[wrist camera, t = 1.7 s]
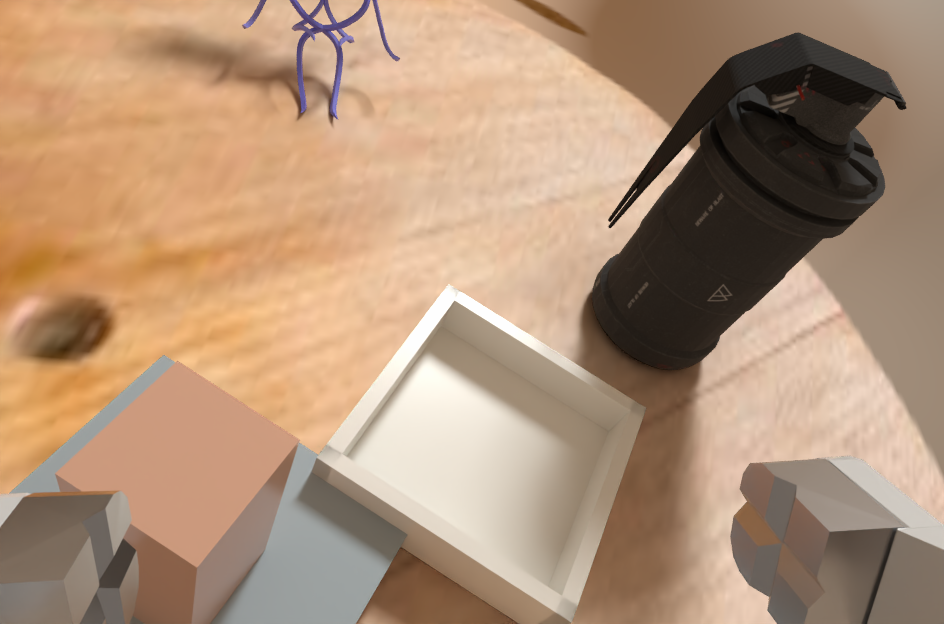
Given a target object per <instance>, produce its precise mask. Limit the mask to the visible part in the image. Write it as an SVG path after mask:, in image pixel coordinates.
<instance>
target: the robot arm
mask: <svg viewBox="0 0 944 624" xmlns="http://www.w3.org/2000/svg"><path fill="white" fill-rule="evenodd" d="M740 490H741V492H742V494H743V496H744V497H745V499H746V501H747V502H746V503H745V504H744V506H743V507H742V508H741V509H740V510H739V511H738V512H737V513H736V514H735V515H734V518H733V524H732V530H731V536H730V537H731V544H732V551H733V557H734V559H735V562H736V564H737V567H738V569H739V571H740V573H741V574H742V576H743V577H744V578H745V580H746V581H747V583H748V584H749V585H750V586H751V587H753V588H755V589H757V590H758V591H760V592H762V593H763V594H765V595H767V596H768V597H769V601H768V612H769V613H770V614H771V616H772V617H773V619H774V620H775V621H776V623H777V624H944V525H943V524H942V523H941V522H939V521H938V520H937V519H936V518H934V517H933V516H932V515H931V514H929V513H928V512H927V511H926V510H924V509H923V508H922V507H921V506H919V505H918V504H917V503H916V502H914V501H913V500H912V499H911V498H909V497H908V496H907V495H906V494H904V493H903V492H902V491H901V490H899V489H898V488H897V487H896V486H894V485H893V484H892V483H891V482H889V481H888V480H887V479H886V478H884V477H883V476H882V475H881V474H880V473H878V472H877V471H876V470H875V469H873V468H872V467H871V466H870V465H868V464H867V463H866V462H865V461H863V460H862V459H859V458H856V457H852V456H841V457H828V458H817V459H811V460H795V461H779V462H763V463H750V464H749V466H748V467H747V469H746V470H745V472H744V473H743V477H742V481H741V486H740ZM131 521H132V518H131V513H130V508H129V503H128V498H127V496H126V495H125V494H124V493H123V492H122V491H121V490H120V491H81V492H41V493H32V494H30V493H11V494H0V624H129V623H130V621H131V618H132V616H133V613H134V609H135V604H136V599H137V593H138V588H139V565H138V558H137V551H136V550H135V549H134V548H133V547H132V546H131V545H130V544H129V543H128V542H127V541H126V540H125V539H123V537H124V535H125V533H126V531H127V529H128V527H129V525H130V523H131Z"/></svg>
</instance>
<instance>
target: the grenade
mask: <svg viewBox="0 0 944 624" xmlns="http://www.w3.org/2000/svg"><path fill="white" fill-rule="evenodd" d="M884 96H885V97H887V98H890V99H892V100H894V101H895V103H896V105H897V107H898V108H899V109H900V110H903V109H906V106H905V104H906V102H905V101H904V99H903V97H902V95H901V94H900V92H899V90H898V88H897V87H896V85H895V83H894V82H893V80H892V78H891V76H890V75H889V73H888V72H887V71H886V72H885V71H884V70H881V69H879V68H877V67H875V66H872V65H871V64H870V63H869V62H866V61H864V60H862V59H859V58H857V57H855V56H852V55H850V54H848V53H845V52H843V51H841V50H838V49H836V48H834V47H831V46H829V45H827V44H824V43H822V42H820V41H817V40H815V39H813V38H810V37H808V36H806V35H803V34H801V33H794V34H791V35H789V36H786V37H784V38H780V39H778V40H775V41H772V42H769V43H767V44H764V45H761V46H758V47H756V48H753V49H750V50H747V51H744V52H742V53H739V54H737V55H735V56H732V57H731V58H729V59H728V60H727V61H726V62H725V63H724V64H723V66H722V67H721V68H720V69H719V70H718V71H717V72H716V73H715V75H714V76H713V77H712V78H711V79H710V80H709V81H708V82H707V84H706V85H705V86H704V87H703V88H702V89H701V90H700V92H699V93H698V94H697V95H696V97H695V98H694V99H693V100H692V102H691V103H690V104H689V106H688V107H687V109H686V110H685V111H684V113H683V114H682V116H681V117H680V119H679V120H678V121H677V123H676V124H675V126H674V127H673V128H672V130H671V131H670V133H669V134H668V135H667V137H666V138H665V140H664V141H663V142H662V144H661V145H660V147H659V148H658V149H657V151H656V152H655V154H654V155H653V157H652V158H651V159H650V161H649V162H648V164H647V165H646V166H645V168H644V169H643V171H642V172H641V173H640V175H639V176H638V178H637V179H636V181H635V182H634V183H633V185H632V186H631V188H630V189H629V191H628V192H627V193H626V195H625V196H624V198H623V199H622V201H621V202H620V203H619V205H618V206H617V208H616V209H615V211H614V212H613V213H612V215H611V216H610V218H609V219H608V221H609V222H611V220H612V219H613V218H614V217H615V215H616V214H617V213H618V211H619V210H620V209H621V208H622V206H623V205H624V204H625V202H626V201H627V200H628V199H629V197H630V196H631V195H632V193H633V192H634V191H635V190H636V188H637V190H636V192H635V193H634V194H633V195H632V197H631V198H630V199H629V200H628V202H627V203H626V204H625V206H624V207H623V208H622V209H621V211H620V212H619V213H618V215H617V216H616V217H615V218H614V220H613V221H612V222H611V223H610V225H609V228H611V227H612V226H613V225H614V224H615V223H616V222H617V221H618V219H619V218H620V217H621V216H622V215H623V214H624V213H625V212H626V210H627V209H628V208H629V207H630V206H631V205H632V204H633V202H634V201H635V200H636V199H637V198H638V197H639V196H640V195H641V193H642V192H643V191H644V190H645V189H646V188H647V187H648V186H649V185H650V184H651V182H652V181H653V180H654V179H655V178H656V177H657V176H658V175H659V174H660V173H661V172H662V171H663V169H664V168H665V167H666V166H667V165H668V164H669V163H670V162H671V161H672V160H673V159H674V158H675V157H676V155H677V154H678V153H679V152H680V151H681V150H682V149H683V148H684V147H685V146H686V145H687V144H688V142H689V141H690V140H691V139H692V138H693V137H694V136H695V135H696V134H697V133H698V132H699V131H700V130H701V129H702V128H703V129H702V131H701V135H700V147H699V148H698V149H697V151H696V152H695V153H694V155H693V156H692V157H691V159H690V160H689V161H688V163H687V164H686V165H685V167H684V168H683V169H682V171H681V172H680V173H679V175H678V176H677V177H676V179H675V180H674V181H673V183H672V184H671V185H669V186H668V187H667V188H666V190H665V191H664V192H663V193H662V195H661V196H660V197H659V199H658V200H657V201H656V203H655V204H654V206H653V207H652V208H651V210H650V211H649V212H648V214H647V215H646V216H645V218H644V219H643V220H642V222H641V224H640V227H639V228H638V229H637V231H636V232H635V233H634V235H633V236H632V237H631V239H630V240H629V241H628V243H627V244H626V245H625V247H624V248H623V249H622V251H621V252H620V253H619V254H617V255H615V256H613V257H612V258H610V259H609V260H608V262H607V263H606V264H605V265H604V267H603V268H602V269H601V271H600V272H599V273H598V275H597V277H596V280H595V283H594V286H593V293H592V301H593V308H594V311H595V314H596V316H597V319H598V321H599V322H600V324H601V326H602V328H603V329H604V331H605V332H606V333H607V334H608V336H609V337H610V338H611V340H612V341H613V342H614V343H615V344H616V345H617V346H618V347H619V348H621V349H622V350H623V351H625V352H626V353H627V354H629V355H630V356H632V357H634V358H635V359H637V360H639V361H641V362H643V363H645V364H648V365H650V366H653V367H656V368H661V369H666V370H678V369H683V368H687V367H690V366H692V365H694V364H696V363H698V362H700V361H702V360H703V359H704V358H705V357H706V356H707V355H708V354H709V353H710V352H711V351H712V350H713V349H714V348H715V347H716V345H717V343H718V341H719V338H720V335H721V334H723V333H724V332H725V331H726V330H727V329H728V328H729V327H730V326H731V325H732V324H733V323H734V322H735V321H736V320H737V319H738V318H739V317H741V316H742V315H743V314H744V313H745V312H746V311H748V310H750V309H751V308H752V307H753V306H754V305H756V304H757V303H758V302H759V301H760V300H761V299H762V298H763V297H764V296H765V295H766V294H767V293H768V292H769V291H770V290H772V289H773V288H774V287H775V286H776V285H777V284H778V283H779V282H780V281H781V280H782V279H783V278H784V277H785V275H786V273H787V272H788V271H789V270H790V269H791V268H792V267H794V266H795V265H796V264H797V263H798V262H799V261H800V260H801V259H802V258H803V257H804V256H805V255H806V254H807V253H808V252H809V251H811V250H812V249H813V248H814V247H815V246H816V245H817V244H818V243H819V242H820V241H821V240H822V239H823V238H833V237H835V236H838V235H840V234H841V233H843V232H844V231H845V230H846V229H847V228H848V227H849V226H850V225H851V224H852V223H853V222H854V221H855V220H856V219H857V218H858V217H859V216H861V215H862V214H863V213H864V212H865V211H866V210H867V209H869V208H870V207H871V206H872V205H873V204H874V203H875V202H876V201H877V200H878V199H879V198H880V197H881V196H882V195H883V193H884V189H885V181H884V176H883V173H882V171H881V169H880V166H879V164H878V160H876V159H875V158H874V153H873V150H872V148H871V146H870V145H869V144H868V142H867V141H866V139H865V138H864V136H863V135H862V134H861V133H860V132H859V131H858V130H857V129H856V128H855V127H856V126H857V125H858V124H859V123H860V122H861V121H862V119H863V118H864V117H865V116H866V115H867V114H868V113H869V112H870V111H871V110H872V109H873V108H874V107H875V106H876V105H877V104H878V103H879V102H880V100H881V99H882V98H883V97H884Z"/></svg>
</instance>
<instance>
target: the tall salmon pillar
mask: <svg viewBox="0 0 944 624" xmlns="http://www.w3.org/2000/svg"><path fill="white" fill-rule="evenodd" d="M299 441H300V440H299V439H298V438H296V437H295V436H293V435H291V434H290V433H288V432H287V431H285V430H284V429H282V428H281V427H279V426H278V425H276V424H274V423H273V422H271V421H270V420H268V419H267V418H265V417H264V416H262V415H261V414H259V413H257V412H256V411H254V410H253V409H251V408H250V407H248V406H247V405H245V404H244V403H242V402H240V401H239V400H237V399H236V398H234V397H233V396H231V395H230V394H228V393H227V392H225V391H223V390H222V389H220V388H219V387H217V386H216V385H214V384H213V383H211V382H210V381H208V380H206V379H205V378H203V377H202V376H200V375H199V374H197V373H196V372H194V371H193V370H191V369H189V368H188V367H186V366H185V365H183V364H182V363H180V362H179V361H177V362H175V363H174V364H173V365H172V366H171V367H170V368H169V369H168V370H167V371H166V372H165V373H164V374H162V375H161V376H160V377H159V378H158V379H157V380H156V381H155V382H154V383H153V384H152V385H150V386H149V387H148V388H147V389H146V390H145V391H144V392H143V393H142V394H141V395H140V396H139V397H137V398H136V399H135V400H134V401H133V402H132V403H131V404H130V405H129V406H128V407H127V408H126V409H124V410H123V411H122V412H121V413H120V414H119V415H118V416H117V417H116V418H115V419H114V420H112V421H111V422H110V423H109V424H108V425H107V426H106V427H105V428H104V429H103V430H102V431H101V432H99V433H98V434H97V435H96V436H95V437H94V438H93V439H92V440H91V441H90V442H89V443H88V444H86V445H85V446H84V447H83V448H82V449H81V450H80V451H79V452H78V453H77V454H76V455H74V456H73V457H72V458H71V459H70V460H69V461H68V462H67V463H66V464H65V465H64V466H63V467H61V468H60V469H59V470H58V471H57V472H56V473H55V475H56V479H57V482H58V486H59V489H60V492H81V491H120V490H121V491H122V492H123V493H124V494H125V495H126V496H127V498H128V503H129V508H130V513H131V518H132V521H131V523H130V525H129V527H128V529H127V531H126V533H125V535H124V537H123V539H125V540H126V541H127V542H128V543H129V544H130V545H131V546H132V547H133V548H134V549H135V550H136V551H137V558H138V565H139V588H138V593H137V599H136V604H135V609H134V613H133V616H134V617H135V618H137V619H138V620H140V621H141V622H143V623H144V624H211V622H212V621H213V620H214V618H215V617H216V615H217V614H218V613H219V611H220V610H221V609H222V607H223V606H224V605H225V603H226V602H227V601H228V599H229V598H230V597H231V595H232V594H233V592H234V591H235V590H236V588H237V587H238V586H239V584H240V583H241V582H242V580H243V579H244V578H245V576H246V575H247V574H248V572H249V571H250V570H251V568H252V567H253V565H254V564H255V563H256V561H257V560H258V559H259V557H260V556H261V555H262V553H263V552H264V551H265V549H266V545H267V542H268V539H269V536H270V533H271V530H272V526H273V523H274V520H275V517H276V514H277V511H278V508H279V504H280V501H281V498H282V495H283V492H284V489H285V485H286V482H287V479H288V476H289V473H290V470H291V466H292V463H293V460H294V457H295V454H296V451H297V448H298V444H299Z"/></svg>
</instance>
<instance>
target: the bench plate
mask: <svg viewBox="0 0 944 624" xmlns="http://www.w3.org/2000/svg"><path fill="white" fill-rule="evenodd" d="M174 363H175V362H174V361H172V360H171V359H169V358H168V357H166V356H165V355H163V356H162V357H161V358H160V359H158V360H157V361H156V362H155V363H154V364H153V365H152V366H151V367H150V368H148V369H147V370H146V371H145V372H144V373H143V374H142V375H141V376H140V377H138V378H137V379H136V380H135V381H134V382H133V383H132V384H131V385H129V386H128V387H127V388H126V389H125V390H124V391H123V392H122V393H121V394H119V395H118V396H117V397H116V398H115V399H114V400H113V401H112V402H110V403H109V404H108V405H107V406H106V407H105V408H104V409H103V410H102V411H100V412H99V413H98V414H97V415H96V416H95V417H94V418H93V419H91V420H90V421H89V422H88V423H87V424H86V425H85V426H84V427H83V428H81V429H80V430H79V431H78V432H77V433H76V434H75V435H74V436H73V437H71V438H70V439H69V440H68V441H67V442H66V443H65V444H64V445H62V446H61V447H60V448H59V449H58V450H57V451H56V452H55V453H54V454H52V455H51V456H50V457H49V458H48V459H47V460H46V461H45V462H43V463H42V464H41V465H40V466H39V467H38V468H37V469H36V470H35V471H33V472H32V473H31V474H30V475H29V476H28V477H27V478H26V479H24V480H23V481H22V482H21V483H20V484H19V485H18V486H17V487H16V488H14V489H13V490H12V491H11V492H10V493H9V494H11V493H30V494H32V493H41V492H60V489H59V486H58V482H57V479H56V475H55V473H56V472H57V471H58V470H59V469H60V468H61V467H63V466H64V465H65V464H66V463H67V462H68V461H69V460H70V459H71V458H72V457H73V456H74V455H76V454H77V453H78V452H79V451H80V450H81V449H82V448H83V447H84V446H85V445H86V444H88V443H89V442H90V441H91V440H92V439H93V438H94V437H95V436H96V435H97V434H98V433H99V432H101V431H102V430H103V429H104V428H105V427H106V426H107V425H108V424H109V423H110V422H111V421H112V420H114V419H115V418H116V417H117V416H118V415H119V414H120V413H121V412H122V411H123V410H124V409H126V408H127V407H128V406H129V405H130V404H131V403H132V402H133V401H134V400H135V399H136V398H137V397H139V396H140V395H141V394H142V393H143V392H144V391H145V390H146V389H147V388H148V387H149V386H150V385H152V384H153V383H154V382H155V381H156V380H157V379H158V378H159V377H160V376H161V375H162V374H164V373H165V372H166V371H167V370H168V369H169V368H170V367H171V366H172V365H173V364H174ZM317 456H318V454H316V453H314V452H313V451H311V450H310V449H308V448H307V447H305V446H304V445H302V444H301V443H299V444H298V448H297V451H296V454H295V457H294V460H293V463H292V466H291V470H290V473H289V476H288V479H287V482H286V485H285V489H284V492H283V495H282V498H281V501H280V504H279V508H278V511H277V514H276V517H275V520H274V523H273V526H272V530H271V533H270V536H269V539H268V542H267V545H266V549H265V551H264V552H263V553H262V555H261V556H260V557H259V559H258V560H257V561H256V563H255V564H254V565H253V567H252V568H251V570H250V571H249V572H248V574H247V575H246V576H245V578H244V579H243V580H242V582H241V583H240V584H239V586H238V587H237V588H236V590H235V591H234V592H233V594H232V595H231V597H230V598H229V599H228V601H227V602H226V603H225V605H224V606H223V607H222V609H221V610H220V611H219V613H218V614H217V615H216V617H215V618H214V620H213V621H212V622H211V624H356V623H357V621H358V619H359V617H360V616H361V614H362V612H363V610H364V609H365V607H366V605H367V604H368V602H369V600H370V598H371V597H372V595H373V593H374V592H375V590H376V588H377V586H378V585H379V583H380V581H381V580H382V578H383V576H384V574H385V573H386V571H387V569H388V568H389V566H390V564H391V562H392V561H393V559H394V557H395V556H396V554H397V552H398V550H399V549H400V547H401V545H402V544H403V542H404V540H405V538H406V537H407V535H408V534H406V533H404V532H403V531H401V530H400V529H398V528H397V527H395V526H394V525H392V524H391V523H389V522H388V521H386V520H384V519H383V518H381V517H380V516H378V515H377V514H375V513H374V512H372V511H371V510H369V509H367V508H366V507H364V506H363V505H361V504H360V503H358V502H357V501H355V500H354V499H352V498H351V497H349V496H347V495H346V494H344V493H343V492H341V491H340V490H338V489H337V488H335V487H334V486H332V485H331V484H329V483H327V482H326V481H324V480H323V479H321V478H320V477H318V476H317V475H315V474H314V473H312V472H311V471H312V469H313V466H314V463H315V460H316V458H317ZM129 624H144V623H143V622H141V621H140V620H138V619H137V618H135V617H134V616H132V618H131V621H130V623H129Z"/></svg>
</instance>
